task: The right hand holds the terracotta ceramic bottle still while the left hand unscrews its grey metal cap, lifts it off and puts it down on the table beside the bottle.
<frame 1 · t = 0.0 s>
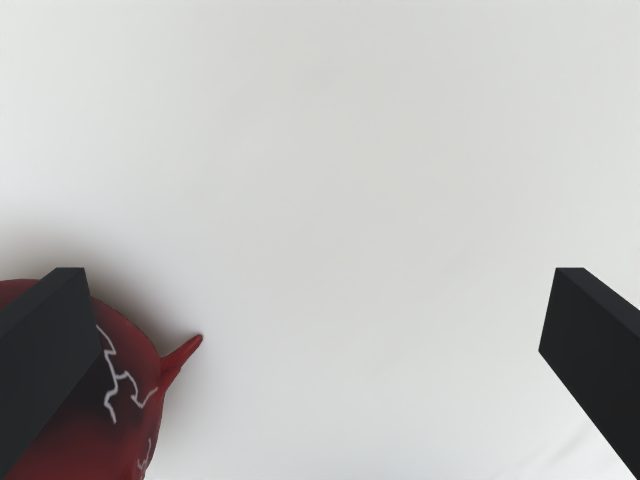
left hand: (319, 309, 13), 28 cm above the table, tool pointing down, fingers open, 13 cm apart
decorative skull: (76, 358, 47), on the table
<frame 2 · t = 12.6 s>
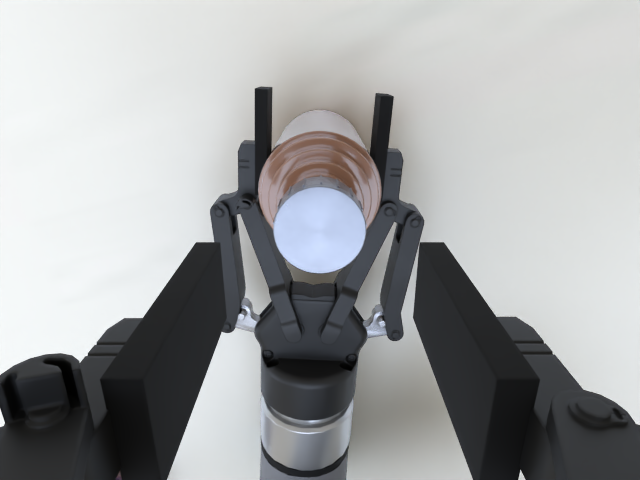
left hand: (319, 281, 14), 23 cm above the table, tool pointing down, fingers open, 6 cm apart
right hand: (324, 92, 27), fingers closed on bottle, 7 cm apart
cap: (319, 229, 19), point 18 cm above the table, screwed on, not yet turned
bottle: (319, 153, 36), on the table, touching right hand
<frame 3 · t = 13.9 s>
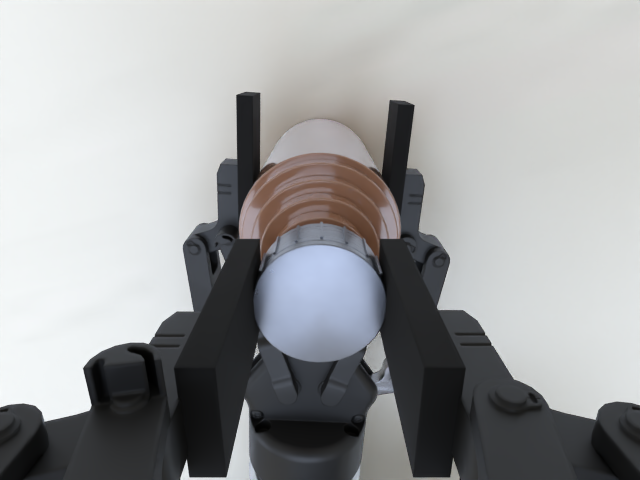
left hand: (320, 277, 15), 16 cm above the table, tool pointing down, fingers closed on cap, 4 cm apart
cap: (319, 301, 13), point 18 cm above the table, screwed on, not yet turned, touching left hand
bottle: (319, 170, 30), on the table, touching right hand
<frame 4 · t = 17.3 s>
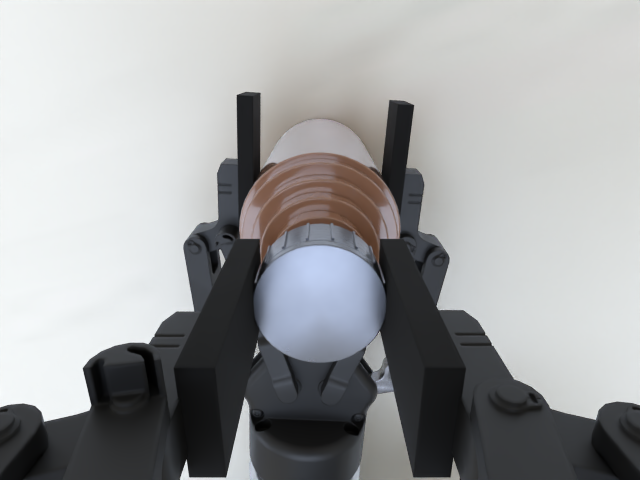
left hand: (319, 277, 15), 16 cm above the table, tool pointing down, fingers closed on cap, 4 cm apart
right hand: (325, 98, 22), fingers closed on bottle, 7 cm apart
cap: (319, 302, 13), point 18 cm above the table, turned 97° so far, risen 0.1 cm, still on its thread, touching left hand
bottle: (319, 170, 30), on the table, touching right hand
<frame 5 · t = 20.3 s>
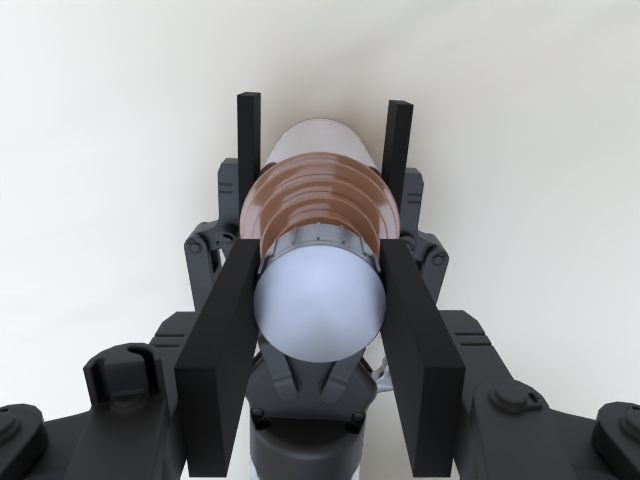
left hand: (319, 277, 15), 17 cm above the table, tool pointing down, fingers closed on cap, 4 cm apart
cap: (319, 302, 13), point 18 cm above the table, turned 193° so far, risen 0.2 cm, still on its thread, touching left hand
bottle: (319, 169, 30), on the table, touching right hand
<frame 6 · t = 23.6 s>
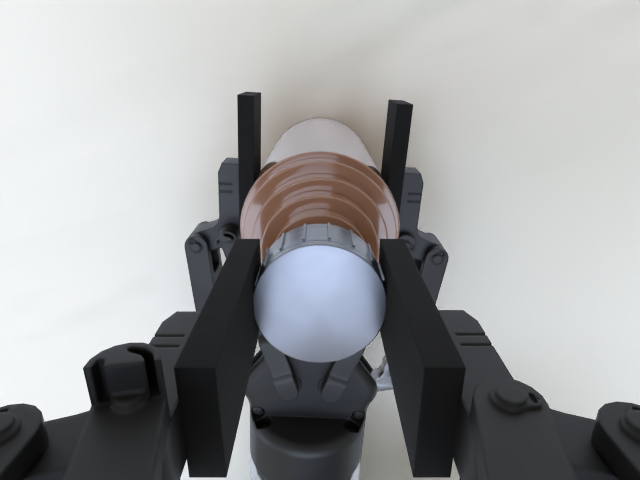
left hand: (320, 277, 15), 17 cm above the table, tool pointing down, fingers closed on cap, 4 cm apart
right hand: (325, 98, 22), fingers closed on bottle, 7 cm apart
cap: (319, 302, 13), point 18 cm above the table, turned 290° so far, risen 0.3 cm, still on its thread, touching left hand
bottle: (319, 169, 30), on the table, touching right hand
when the left hand's fingers open (1 cm above the table, at t = 32.4 s): cap drops 1 cm, point 2 cm above the table.
when the right hand's fingers open (7 cm above the table, at t = 33.6 s): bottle stays where it is, on the table.
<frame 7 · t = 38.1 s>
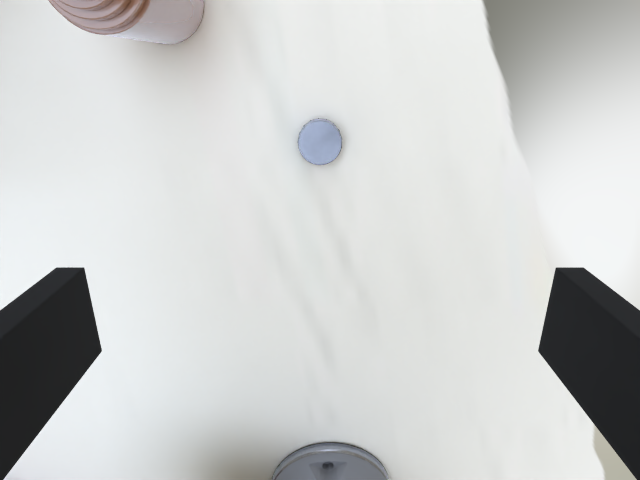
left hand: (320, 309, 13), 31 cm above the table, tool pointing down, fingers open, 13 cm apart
cap: (320, 142, 40), point 2 cm above the table, off its thread
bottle: (164, 0, 37), on the table
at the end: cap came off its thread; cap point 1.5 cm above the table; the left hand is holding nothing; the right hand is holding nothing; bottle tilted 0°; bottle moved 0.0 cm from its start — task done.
